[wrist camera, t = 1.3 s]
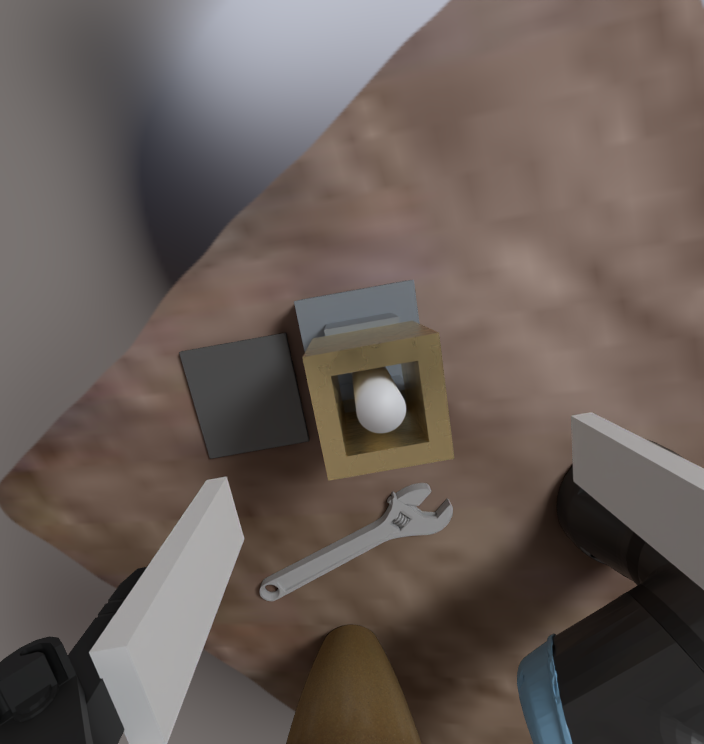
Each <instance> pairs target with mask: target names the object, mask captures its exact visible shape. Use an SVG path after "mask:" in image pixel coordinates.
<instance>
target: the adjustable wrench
mask: <svg viewBox="0 0 704 744" xmlns="http://www.w3.org/2000/svg"><path fill="white" fill-rule="evenodd" d="M430 493H431V489H430V486H429V485H428V484H427V483H419V484H413V485H410V486H407V487H405V488H403V489H402V490H400V491H398V492H397V493H394V492H392V494H391V496H390V497H389V498H388V499H387V502H388V503H389V506H388V508H387V510H386V512H385V513H384V514H383V516H382V517H380V518H379V519H378V520H376V521H375V522H373V523H371V524H369V525H368V526H366V527H364V528H362V529H360V530H358V531H356V532H354V533H352V534H350V535H348V536H346V537H344V538H342V539H340V540H338V541H337V542H335V543H333V544H331V545H329V546H327V547H325V548H323V549H321V550H319V551H317V552H315V553H313V554H311V555H309V556H308V557H306V558H304V559H302V560H300V561H298V562H296V563H294V564H292V565H290V566H288V567H286V568H284V569H282V570H280V571H278V572H277V573H275V574H273V575H271V576H269V577H267V578H265V579H264V580H263V581H262V584H261V588H260V595H261V597H262V598H263V599H265V600H267V601H275V600H277V599H279V598H281V597H283V596H284V595H286V594H288V593H290V592H292V591H294V590H296V589H297V588H299V587H301V586H303V585H305V584H307V583H309V582H310V581H312V580H314V579H316V578H318V577H320V576H322V575H323V574H325V573H327V572H329V571H331V570H333V569H335V568H336V567H338V566H340V565H342V564H344V563H346V562H348V561H349V560H351V559H353V558H355V557H357V556H359V555H361V554H362V553H364V552H366V551H368V550H370V549H372V548H374V547H375V546H377V545H379V544H381V543H383V542H385V541H387V540H390V539H394V538H399V537H405V536H413V535H430V534H434V533H436V532H439V531H440V530H442V529H443V528H444V527H445V526H446V525H447V524H448V523H449V521H450V519H451V517H452V514H453V507H452V505H451V503H450V501H449V499H448V498H447V499H446V500H445V501H444V502H443V504H442V505H441V506H440V507H439V508H438V509H437V510H436V511H435V512H424V511H421V510H420V509H418V508H417V507H416V505H418V506H419V505H420V504H421V503H422V502H423V500H424V499H425V498H426V497H427V496H428V495H429V494H430ZM270 584H271V585H275V586H277V587H278V590H277V591H275V592H269V591H267V590H266V589H265V586H266V585H270Z"/></svg>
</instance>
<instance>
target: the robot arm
mask: <svg viewBox="0 0 704 744" xmlns="http://www.w3.org/2000/svg"><path fill="white" fill-rule="evenodd" d="M571 427H572V456H573V466H572V467H571V469H570V470H569V471H568V473H567V474H566V476H565V478H564V480H563V482H562V484H561V486H560V489H559V493H558V497H557V515H558V519H559V522H560V525H561V527H562V529H563V530H564V532H565V533H566V535H567V536H568V537H569V538H570V539H571V540H572V541H573V542H574V543H575V544H576V546H577V547H578V548H579V549H580V550H581V551H583V552H584V553H585V554H586V555H588V556H589V557H591V558H593V559H594V560H596V561H598V562H601V563H603V564H606V565H608V566H610V567H611V568H613V569H614V570H615V571H617V572H618V573H620V574H622V575H623V576H625V577H627V578H629V579H630V580H632V581H634V582H635V583H636V584H637V585H638V586H636V587H635V588H633V589H631V590H630V591H628V592H626V593H624V594H623V595H621V596H619V597H618V598H616V599H615V600H613V601H612V602H610V603H609V604H607V605H605V606H604V607H602V608H601V609H599V610H597V611H596V612H594V613H592V614H591V615H589V616H587V617H586V618H584V619H582V620H581V621H579V622H577V623H576V624H574V625H573V626H571V627H569V628H568V629H566V630H564V631H563V632H561V633H559V634H558V635H555V634H552V635H550V636H549V637H548V639H547V641H546V642H545V643H544V644H542V645H541V646H539V647H538V648H537V649H535V650H534V651H533V652H531V653H530V654H528V655H527V656H526V657H524V658H523V660H522V661H521V663H520V665H519V668H518V672H517V686H518V692H519V698H520V702H521V706H522V710H523V713H524V717H525V720H526V723H527V726H528V729H529V732H530V735H531V738H532V741H533V744H704V468H702V467H700V466H698V465H696V464H694V463H692V462H690V461H688V460H686V459H684V458H683V457H681V456H680V455H679V454H677V453H675V452H674V451H672V450H670V449H668V448H666V447H664V446H662V445H659V444H657V443H655V442H653V441H650V440H646V439H644V438H642V437H640V436H638V435H636V434H634V433H632V432H630V431H628V430H626V429H624V428H622V427H620V426H618V425H616V424H614V423H612V422H610V421H608V420H606V419H604V418H602V417H600V416H598V415H596V414H594V413H592V412H590V413H584V414H579V415H573V416H571ZM243 541H244V536H243V533H242V529H241V525H240V522H239V518H238V515H237V511H236V508H235V504H234V501H233V497H232V494H231V490H230V487H229V483H228V480H227V477H221V478H216V479H210V480H206V482H205V483H204V485H203V486H202V488H201V489H200V491H199V492H198V494H197V495H196V496H195V498H194V499H193V501H192V502H191V504H190V505H189V507H188V508H187V510H186V511H185V513H184V514H183V516H182V517H181V518H180V520H179V521H178V523H177V524H176V526H175V527H174V529H173V530H172V532H171V533H170V535H169V536H168V537H167V539H166V540H165V542H164V543H163V545H162V546H161V548H160V549H159V551H158V552H157V554H156V555H155V556H154V558H153V559H152V561H151V562H150V564H149V565H148V567H144V568H138V569H137V570H136V571H134V572H133V573H132V574H131V575H130V576H129V577H128V578H127V579H125V580H124V581H123V582H122V583H121V584H120V585H119V587H118V588H117V589H116V591H115V592H114V593H113V595H112V596H111V598H110V599H109V601H108V603H107V604H105V606H104V607H103V608H102V610H101V611H100V612H99V614H98V618H95V619H94V621H93V622H92V623H91V625H90V626H89V628H88V629H87V630H86V631H85V633H84V634H83V636H82V637H81V638H80V640H79V641H78V642H77V644H76V645H75V646H74V648H73V649H72V651H71V652H70V653H69V655H67V653H66V651H65V648H64V646H63V644H62V642H61V641H60V639H59V638H56V637H46V638H42V639H39V640H35V641H33V642H31V643H29V644H27V645H25V646H23V647H21V648H19V649H18V650H16V651H15V652H13V653H12V654H10V655H9V656H8V657H6V658H5V659H3V660H2V661H1V662H0V744H118V742H119V740H120V738H121V736H122V734H123V732H124V734H125V736H126V738H127V741H128V743H129V744H167V743H168V740H169V738H170V735H171V732H172V730H173V727H174V724H175V722H176V719H177V716H178V714H179V711H180V708H181V705H182V703H183V700H184V698H185V695H186V692H187V690H188V687H189V684H190V682H191V679H192V677H193V674H194V671H195V669H196V666H197V663H198V661H199V658H200V655H201V652H202V650H203V647H204V645H205V642H206V639H207V637H208V634H209V631H210V629H211V626H212V623H213V621H214V618H215V615H216V613H217V610H218V607H219V605H220V602H221V599H222V597H223V594H224V591H225V589H226V586H227V583H228V581H229V578H230V575H231V573H232V570H233V567H234V565H235V562H236V559H237V557H238V554H239V552H240V549H241V546H242V544H243Z"/></svg>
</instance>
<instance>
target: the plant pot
mask: <svg viewBox="0 0 704 744" xmlns="http://www.w3.org/2000/svg"><path fill="white" fill-rule="evenodd" d="M286 744H421V742H420V738H419V735H418V732H417V729H416V726H415V724H414V721H413V718H412V715H411V712H410V710H409V707H408V704H407V702H406V699H405V697H404V694H403V692H402V689H401V687H400V684H399V682H398V680H397V677H396V675H395V673H394V671H393V668H392V666H391V664H390V662H389V660H388V658H387V656H386V654H385V652H384V650H383V648H382V647H381V645H380V643H379V641H378V639H377V638H376V636H375V635H374V634H373V632H371V631H370V630H368V629H367V628H365V627H362V626H358V625H345V626H341V627H338V628H336V629H334V630H333V631H331V632H330V633H329V634H328V635H327V637H326V638H325V640H324V642H323V644H322V646H321V648H320V650H319V652H318V654H317V657H316V659H315V661H314V663H313V666H312V668H311V671H310V673H309V675H308V678H307V681H306V683H305V686H304V689H303V691H302V694H301V697H300V700H299V703H298V706H297V709H296V712H295V715H294V718H293V722H292V725H291V729H290V732H289V735H288V739H287V743H286Z"/></svg>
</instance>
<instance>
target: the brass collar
mask: <svg viewBox="0 0 704 744" xmlns="http://www.w3.org/2000/svg"><path fill="white" fill-rule="evenodd" d="M302 358H303V363H304V368H305V372H306V377H307V382H308V387H309V391H310V396H311V401H312V406H313V410H314V415H315V420H316V425H317V429H318V434H319V439H320V443H321V448H322V453H323V458H324V462H325V467H326V472H327V477H328V481H329V480H335V479H341V478H346V477H352V476H358V475H363V474H369V473H375V472H381V471H386V470H392V469H398V468H403V467H409V466H415V465H420V464H426V463H432V462H438V461H443V460H449V459H454V453H453V444H452V436H451V428H450V420H449V411H448V403H447V395H446V387H445V378H444V370H443V362H442V354H441V345H440V337H439V333H438V332H436V331H434V330H432V329H430V328H427V327H425V326H423V325H421V324H419V323H416V322H414V321H407V322H402V323H396V324H391V325H385V326H380V327H374V328H368V329H363V330H357V331H352V332H346V333H341V334H335V335H329V336H324V337H318V338H313V339H312V341H311V342H310V344H309V346H308V348H307V350H306V352H305V353H304V355H303V357H302ZM396 364H401V368H402V375H403V382H404V389H405V395H406V402H405V404H406V414H405V417H404V419H403V421H402V423H401V424H400V425H399V426H398V427H397V428H396V429H394V430H392V431H390V432H387V433H374V432H371V431H369V430H367V429H366V428H364V427H363V426H362V425H361V423H360V422H359V420H358V417H357V413H356V411H354V412H349V413H345V411H344V406H343V400H342V395H341V390H340V385H339V379H338V375H340V374H346V373H352V372H357V371H363V370H368V369H374V368H380V367H385V366H391V365H396Z"/></svg>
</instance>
